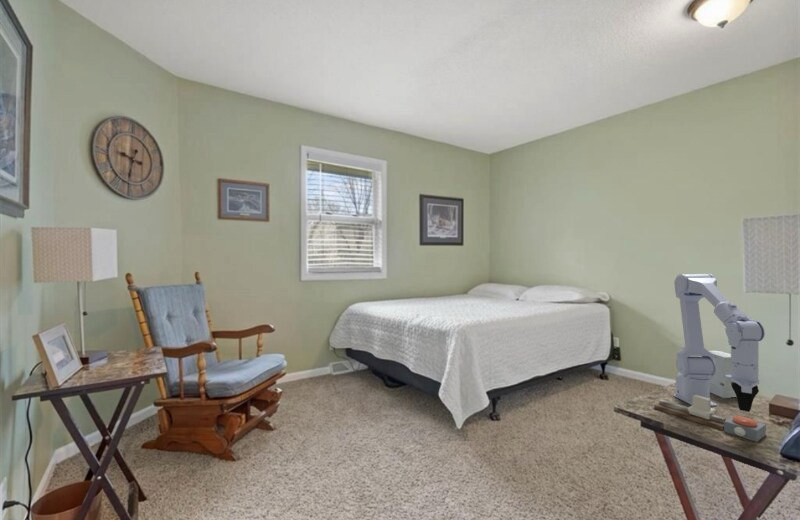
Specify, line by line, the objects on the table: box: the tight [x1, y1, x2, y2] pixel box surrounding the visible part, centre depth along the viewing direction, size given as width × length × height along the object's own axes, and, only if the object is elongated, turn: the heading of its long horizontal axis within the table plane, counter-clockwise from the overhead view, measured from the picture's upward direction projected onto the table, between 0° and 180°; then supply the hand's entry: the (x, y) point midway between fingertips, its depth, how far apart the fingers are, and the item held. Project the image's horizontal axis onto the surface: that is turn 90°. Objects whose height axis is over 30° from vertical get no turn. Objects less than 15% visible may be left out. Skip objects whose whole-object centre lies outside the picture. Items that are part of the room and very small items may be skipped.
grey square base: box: [723, 414, 767, 443], centre depth 105 cm, size 7×7×3 cm
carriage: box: [688, 395, 717, 419], centre depth 114 cm, size 5×6×6 cm
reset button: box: [731, 415, 758, 427], centre depth 105 cm, size 5×5×3 cm
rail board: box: [653, 399, 727, 431], centre depth 116 cm, size 18×6×2 cm, turn 31°
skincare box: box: [708, 350, 737, 399], centre depth 133 cm, size 8×6×15 cm
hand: (744, 410), depth 105 cm, fingers closed
